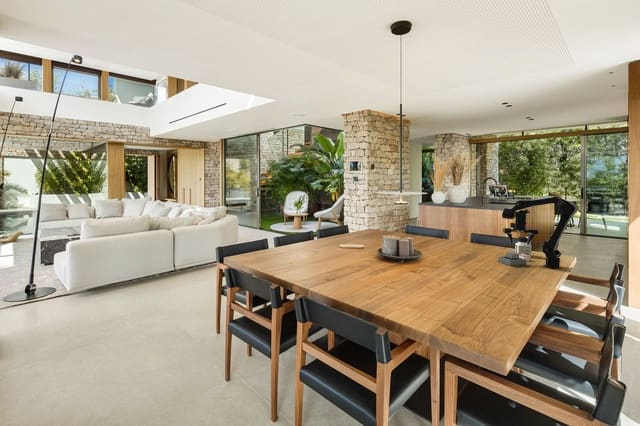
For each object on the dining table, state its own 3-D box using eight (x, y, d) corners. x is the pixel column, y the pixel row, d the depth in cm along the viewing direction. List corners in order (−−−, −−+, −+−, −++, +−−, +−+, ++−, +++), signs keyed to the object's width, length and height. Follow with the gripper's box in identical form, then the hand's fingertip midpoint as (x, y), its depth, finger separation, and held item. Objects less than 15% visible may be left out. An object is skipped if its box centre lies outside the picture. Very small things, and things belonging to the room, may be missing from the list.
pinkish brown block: (530, 261, 209) (530, 255, 209) (523, 261, 208) (524, 256, 208) (522, 258, 215) (523, 253, 214) (516, 259, 214) (517, 254, 214)
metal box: (518, 263, 200) (519, 253, 200) (511, 263, 200) (511, 254, 199) (512, 261, 205) (513, 251, 205) (505, 261, 204) (506, 252, 204)
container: (518, 256, 221) (519, 237, 220) (514, 253, 228) (515, 235, 227) (531, 257, 219) (532, 237, 217) (527, 254, 226) (528, 235, 225)
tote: (526, 265, 198) (526, 259, 198) (510, 266, 196) (510, 260, 196) (513, 261, 208) (513, 255, 208) (498, 261, 207) (498, 256, 207)
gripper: (533, 218, 210) (532, 242, 211) (501, 218, 215) (500, 241, 217) (539, 221, 199) (538, 246, 201) (505, 220, 205) (504, 244, 207)
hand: (519, 244), depth 207 cm, fingers open, 9 cm apart
